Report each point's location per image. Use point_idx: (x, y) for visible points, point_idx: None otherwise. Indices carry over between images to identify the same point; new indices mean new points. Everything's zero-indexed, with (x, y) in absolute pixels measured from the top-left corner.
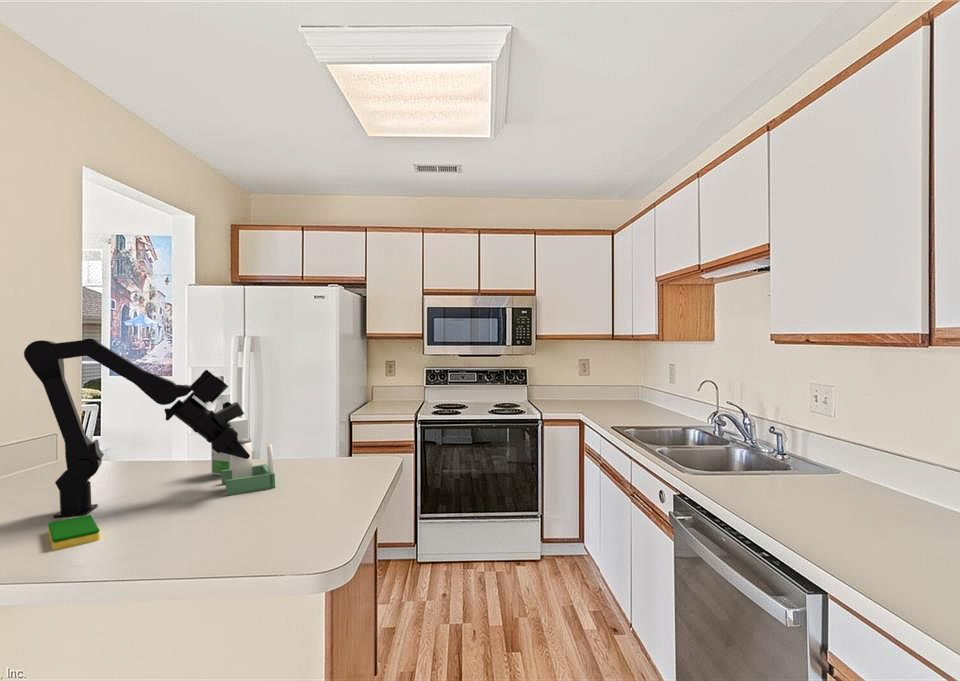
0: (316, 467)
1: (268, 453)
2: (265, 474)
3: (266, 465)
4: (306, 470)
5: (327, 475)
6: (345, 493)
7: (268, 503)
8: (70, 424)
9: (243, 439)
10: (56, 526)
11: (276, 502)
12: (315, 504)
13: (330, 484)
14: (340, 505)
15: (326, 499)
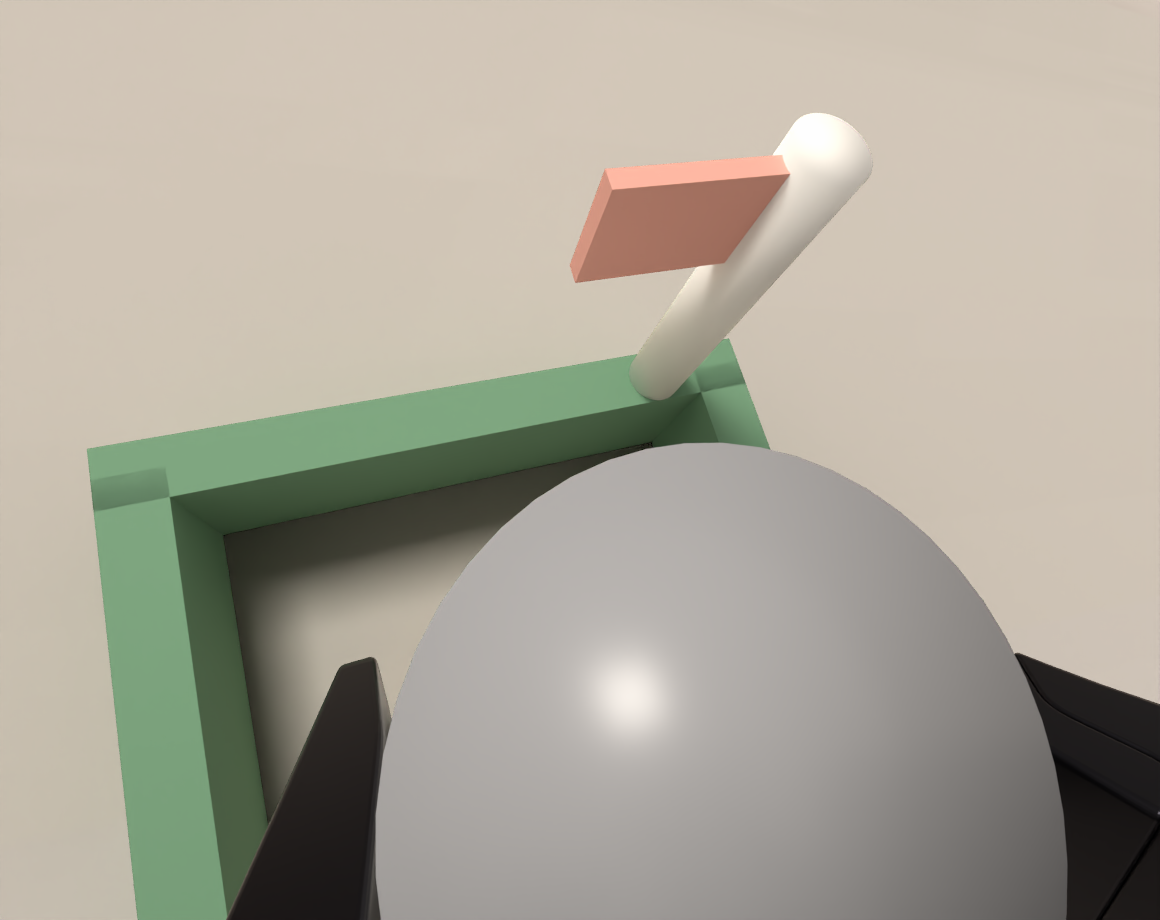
0: None
1: (786, 264)
2: (733, 424)
3: (205, 439)
4: (80, 121)
5: (425, 20)
6: (936, 37)
7: (1069, 426)
8: None
9: (799, 681)
10: None
11: (1054, 380)
12: (1105, 192)
13: (716, 57)
14: (1126, 99)
15: (1029, 134)
